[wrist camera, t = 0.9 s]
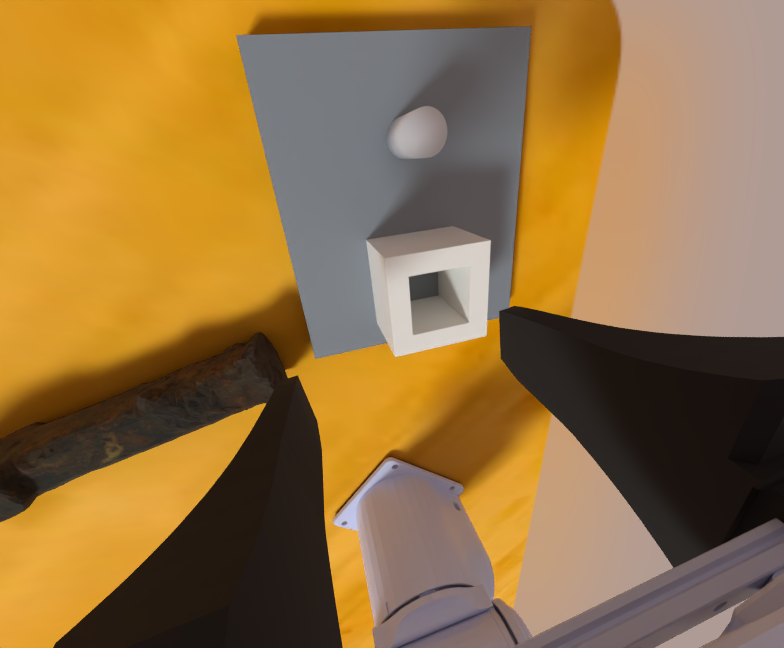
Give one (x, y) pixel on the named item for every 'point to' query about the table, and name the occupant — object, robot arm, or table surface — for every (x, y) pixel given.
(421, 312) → the hollow square block
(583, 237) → the table surface
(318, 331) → the plate
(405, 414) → the table surface
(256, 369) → the hand tool
